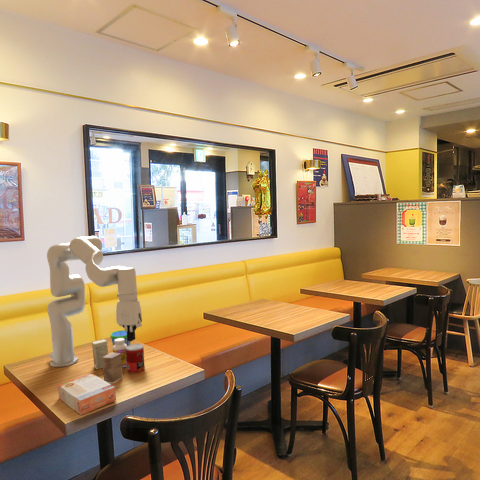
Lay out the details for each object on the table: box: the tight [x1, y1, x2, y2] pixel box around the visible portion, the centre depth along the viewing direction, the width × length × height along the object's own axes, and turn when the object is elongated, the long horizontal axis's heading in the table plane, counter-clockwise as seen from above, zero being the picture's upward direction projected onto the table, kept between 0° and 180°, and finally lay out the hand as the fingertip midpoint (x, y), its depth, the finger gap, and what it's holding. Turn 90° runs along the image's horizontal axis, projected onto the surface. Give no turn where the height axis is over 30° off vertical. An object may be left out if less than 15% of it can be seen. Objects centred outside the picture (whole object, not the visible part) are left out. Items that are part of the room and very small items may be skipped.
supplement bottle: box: [112, 338, 127, 369], centre depth 188 cm, size 7×7×13 cm
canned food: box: [126, 343, 146, 374], centre depth 183 cm, size 8×8×11 cm
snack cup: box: [110, 329, 131, 347], centre depth 208 cm, size 16×10×10 cm
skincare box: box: [91, 338, 109, 370], centre depth 189 cm, size 6×4×12 cm
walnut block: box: [102, 351, 123, 384], centre depth 173 cm, size 5×6×11 cm
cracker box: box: [57, 373, 117, 416], centre depth 155 cm, size 14×6×21 cm
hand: (131, 340), depth 168 cm, fingers closed
